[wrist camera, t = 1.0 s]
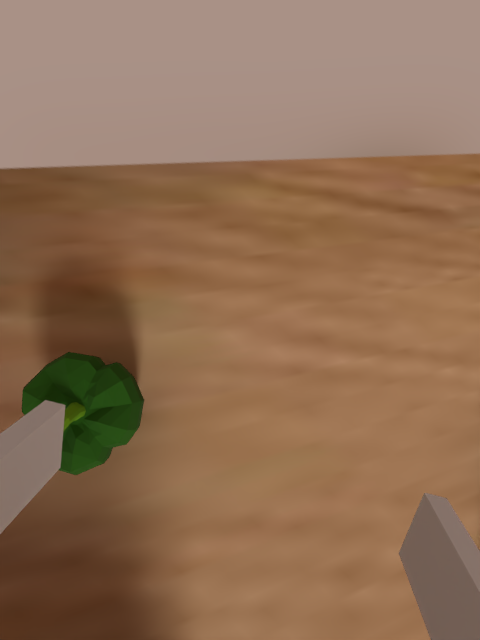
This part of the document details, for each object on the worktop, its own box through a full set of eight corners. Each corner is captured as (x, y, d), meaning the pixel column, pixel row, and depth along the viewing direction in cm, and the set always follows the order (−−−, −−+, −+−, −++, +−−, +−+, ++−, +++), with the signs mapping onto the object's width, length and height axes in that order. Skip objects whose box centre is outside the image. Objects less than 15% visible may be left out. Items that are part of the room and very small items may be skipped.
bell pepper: (112, 338, 33) (78, 322, 23) (167, 408, 32) (157, 422, 23) (31, 397, 31) (-42, 407, 21) (88, 471, 31) (41, 517, 21)
